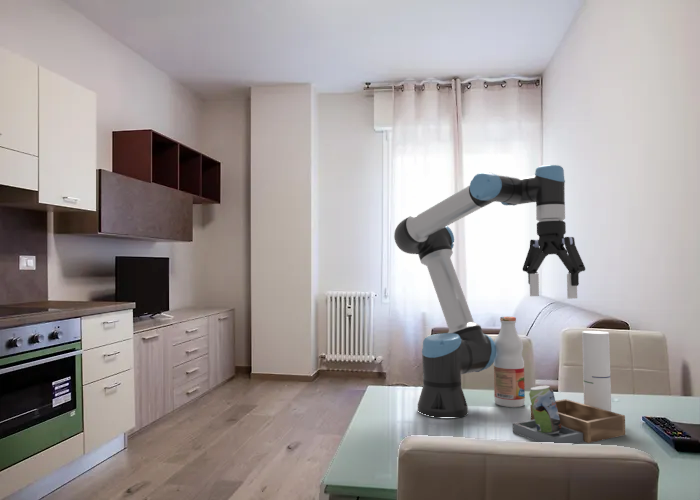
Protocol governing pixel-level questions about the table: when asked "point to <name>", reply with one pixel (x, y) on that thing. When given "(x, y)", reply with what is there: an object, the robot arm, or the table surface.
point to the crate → (589, 420)
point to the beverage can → (545, 409)
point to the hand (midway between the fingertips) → (552, 297)
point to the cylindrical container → (596, 369)
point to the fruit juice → (509, 366)
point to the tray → (531, 432)
